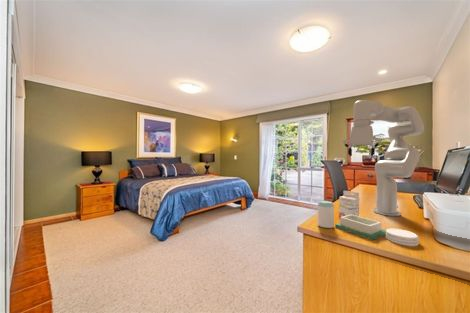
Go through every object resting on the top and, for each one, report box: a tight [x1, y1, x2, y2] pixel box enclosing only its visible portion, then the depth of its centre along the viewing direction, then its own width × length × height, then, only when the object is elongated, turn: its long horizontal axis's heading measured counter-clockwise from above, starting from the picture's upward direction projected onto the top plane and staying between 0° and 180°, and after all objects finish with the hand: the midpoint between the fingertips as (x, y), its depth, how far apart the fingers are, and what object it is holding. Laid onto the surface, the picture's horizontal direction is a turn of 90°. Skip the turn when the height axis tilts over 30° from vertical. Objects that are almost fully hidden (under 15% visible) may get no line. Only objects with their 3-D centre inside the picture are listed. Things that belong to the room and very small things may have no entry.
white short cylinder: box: [385, 227, 419, 247], centre depth 78 cm, size 10×10×4 cm
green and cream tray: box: [334, 214, 387, 241], centre depth 88 cm, size 12×16×5 cm
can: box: [317, 200, 335, 229], centre depth 93 cm, size 7×7×12 cm
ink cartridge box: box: [338, 190, 360, 218], centre depth 104 cm, size 9×5×15 cm, turn 34°
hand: (360, 156), depth 103 cm, fingers open, 9 cm apart
